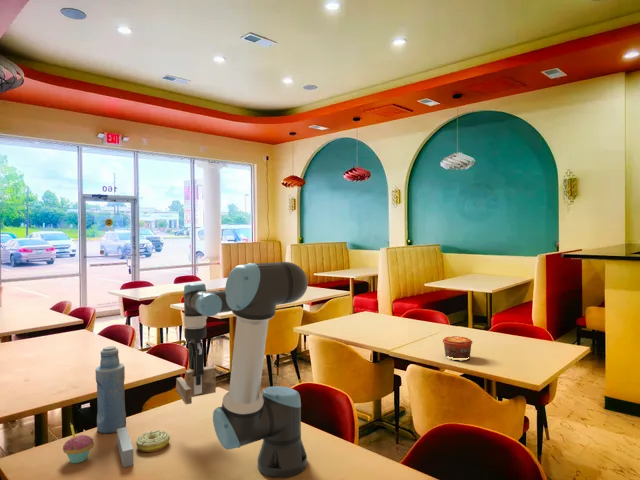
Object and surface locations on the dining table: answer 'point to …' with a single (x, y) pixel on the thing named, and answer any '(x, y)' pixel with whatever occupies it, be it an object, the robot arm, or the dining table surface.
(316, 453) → the dining table surface
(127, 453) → the backstop
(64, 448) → the cupcake
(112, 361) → the bottle
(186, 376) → the pusher
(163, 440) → the decorated donut
